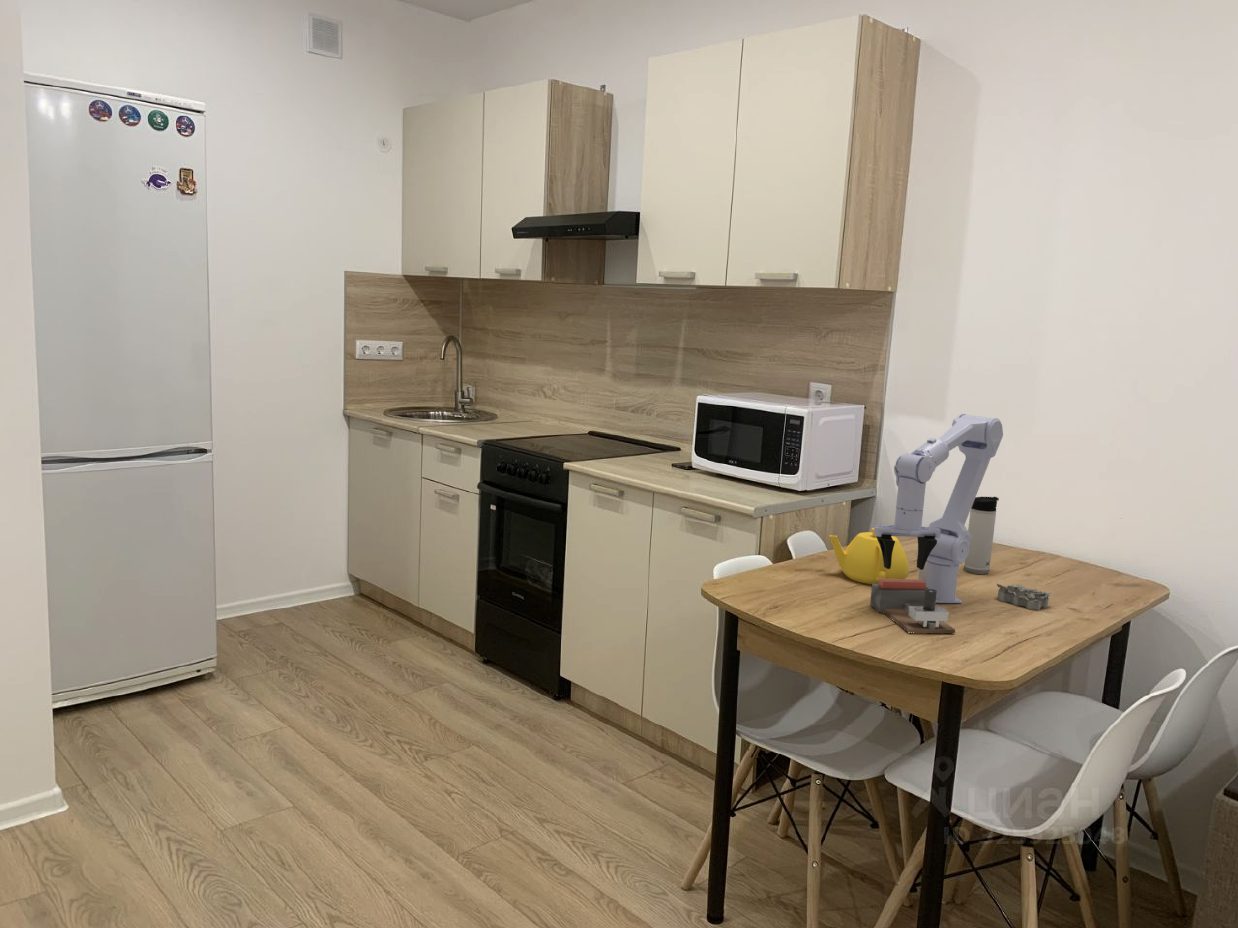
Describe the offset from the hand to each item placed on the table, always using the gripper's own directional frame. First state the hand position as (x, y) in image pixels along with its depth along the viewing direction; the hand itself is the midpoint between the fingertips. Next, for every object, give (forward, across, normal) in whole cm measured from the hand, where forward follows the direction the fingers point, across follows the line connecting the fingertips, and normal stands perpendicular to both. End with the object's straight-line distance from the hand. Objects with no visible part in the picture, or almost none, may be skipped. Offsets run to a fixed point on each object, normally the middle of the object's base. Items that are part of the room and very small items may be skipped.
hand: (903, 568), depth 210 cm
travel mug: (+10, +35, +33) cm, 49 cm away
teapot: (+10, +2, +24) cm, 26 cm away
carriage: (+8, 0, -14) cm, 16 cm away
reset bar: (+4, 0, 0) cm, 4 cm away
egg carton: (+10, +33, +6) cm, 35 cm away
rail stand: (+9, 0, -7) cm, 12 cm away
